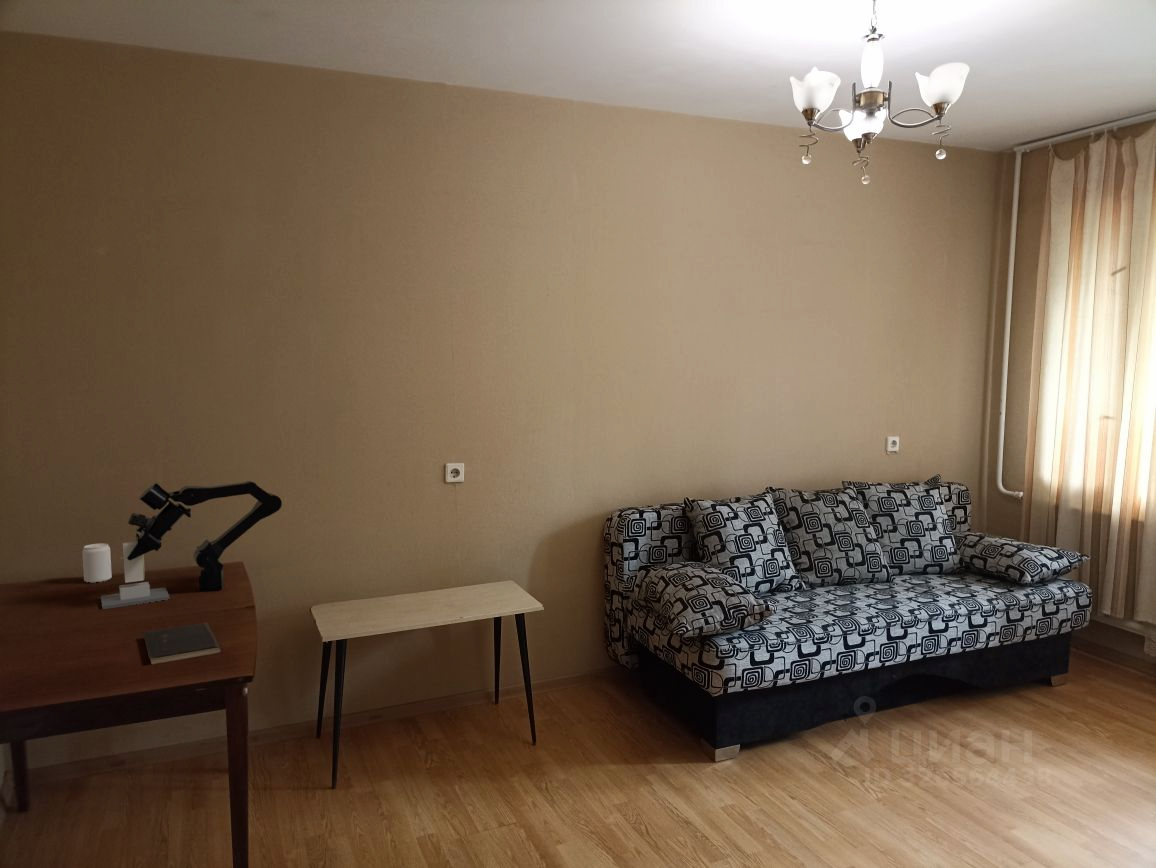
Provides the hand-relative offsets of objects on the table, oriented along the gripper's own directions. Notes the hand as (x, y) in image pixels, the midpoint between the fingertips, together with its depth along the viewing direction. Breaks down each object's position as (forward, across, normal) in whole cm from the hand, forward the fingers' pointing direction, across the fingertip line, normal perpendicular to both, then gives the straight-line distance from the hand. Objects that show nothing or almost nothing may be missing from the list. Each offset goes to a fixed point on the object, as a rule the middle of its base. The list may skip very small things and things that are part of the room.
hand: (128, 558), depth 251 cm
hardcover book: (+4, +55, +16) cm, 57 cm away
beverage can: (+15, -33, +4) cm, 37 cm away
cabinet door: (+4, 0, +6) cm, 7 cm away
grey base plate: (+8, 0, +10) cm, 13 cm away
